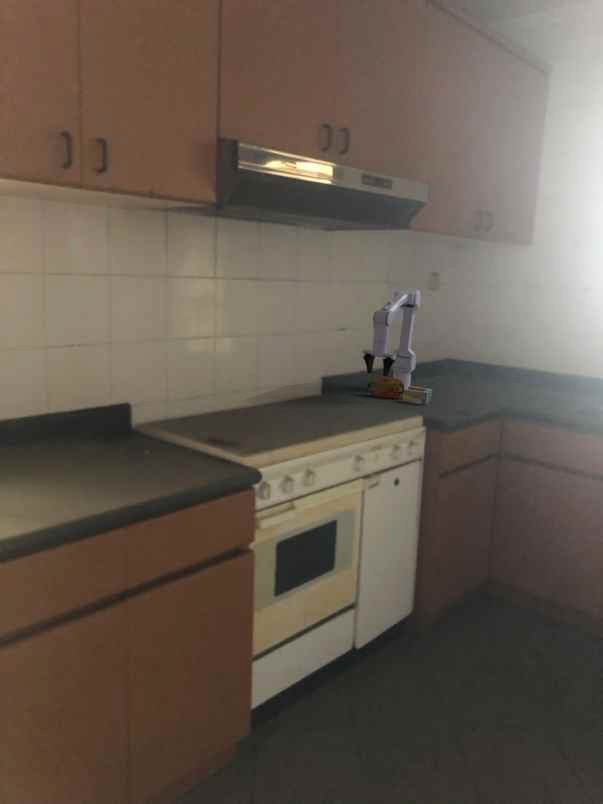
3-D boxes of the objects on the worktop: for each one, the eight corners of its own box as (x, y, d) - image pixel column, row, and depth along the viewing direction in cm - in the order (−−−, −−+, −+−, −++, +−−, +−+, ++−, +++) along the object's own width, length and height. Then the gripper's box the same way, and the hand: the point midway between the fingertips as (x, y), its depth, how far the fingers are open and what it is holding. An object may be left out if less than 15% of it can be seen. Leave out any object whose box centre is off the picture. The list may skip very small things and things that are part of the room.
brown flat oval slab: (366, 395, 275) (368, 375, 274) (368, 394, 278) (369, 374, 277) (402, 400, 271) (404, 379, 269) (403, 398, 274) (406, 378, 272)
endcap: (408, 397, 276) (409, 386, 275) (430, 401, 273) (432, 389, 272) (402, 401, 267) (403, 389, 266) (426, 405, 264) (427, 392, 263)
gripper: (359, 338, 264) (356, 372, 267) (390, 343, 255) (386, 378, 258) (370, 338, 270) (367, 371, 272) (400, 342, 260) (396, 377, 263)
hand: (377, 374), depth 266 cm, fingers open, 7 cm apart
